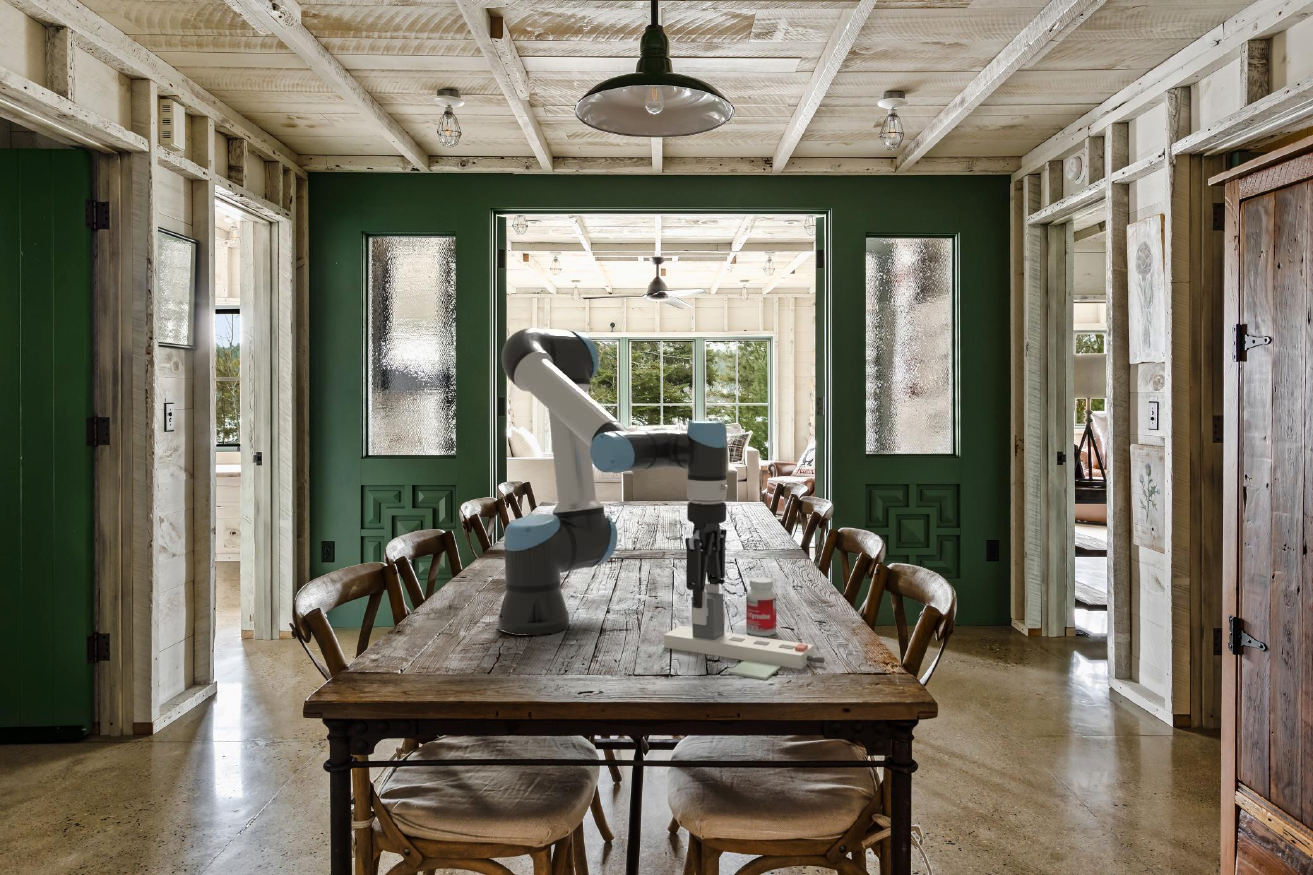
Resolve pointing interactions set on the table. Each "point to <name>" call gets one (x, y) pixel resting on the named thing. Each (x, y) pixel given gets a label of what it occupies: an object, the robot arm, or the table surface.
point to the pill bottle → (761, 607)
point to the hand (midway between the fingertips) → (705, 620)
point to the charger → (711, 618)
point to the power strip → (744, 648)
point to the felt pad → (754, 669)
